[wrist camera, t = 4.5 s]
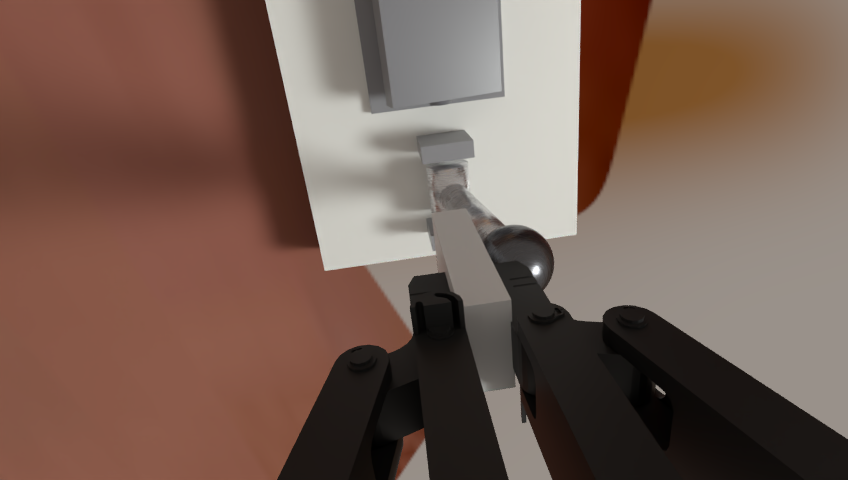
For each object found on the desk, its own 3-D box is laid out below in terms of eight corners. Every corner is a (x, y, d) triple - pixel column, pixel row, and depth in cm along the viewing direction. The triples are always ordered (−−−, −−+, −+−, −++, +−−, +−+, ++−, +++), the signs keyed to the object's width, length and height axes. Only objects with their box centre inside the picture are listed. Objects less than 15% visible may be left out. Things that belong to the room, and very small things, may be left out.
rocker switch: (385, 111, 22) (394, 116, 21) (365, -29, 20) (373, -35, 18) (486, 94, 23) (501, 98, 22) (478, -40, 21) (495, -46, 19)
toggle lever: (422, 216, 25) (493, 327, 16) (416, 163, 24) (487, 248, 14) (470, 207, 25) (568, 310, 16) (466, 155, 24) (568, 232, 15)
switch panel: (329, 247, 29) (320, 292, 24) (228, -229, 20) (181, -311, 15) (557, 215, 30) (594, 252, 25) (558, -262, 21) (615, -352, 16)
